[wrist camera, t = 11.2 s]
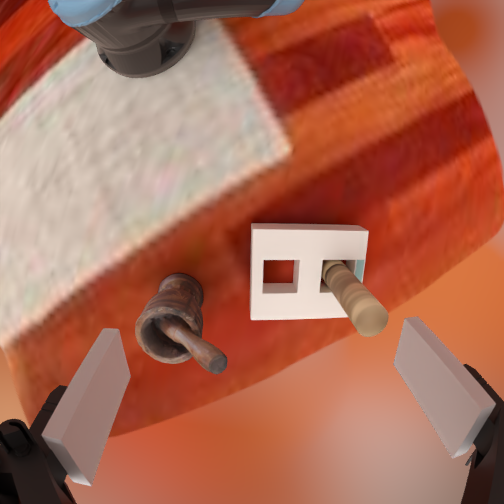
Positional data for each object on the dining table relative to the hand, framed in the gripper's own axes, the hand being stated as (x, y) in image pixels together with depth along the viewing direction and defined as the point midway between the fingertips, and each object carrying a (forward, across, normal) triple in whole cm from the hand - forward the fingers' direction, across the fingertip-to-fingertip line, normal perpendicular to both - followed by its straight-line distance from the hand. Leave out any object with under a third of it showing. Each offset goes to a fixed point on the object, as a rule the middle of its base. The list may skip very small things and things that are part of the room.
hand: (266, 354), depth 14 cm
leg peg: (+35, +14, -10) cm, 39 cm away
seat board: (+35, +9, -10) cm, 38 cm away
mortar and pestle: (+36, -9, -13) cm, 39 cm away
